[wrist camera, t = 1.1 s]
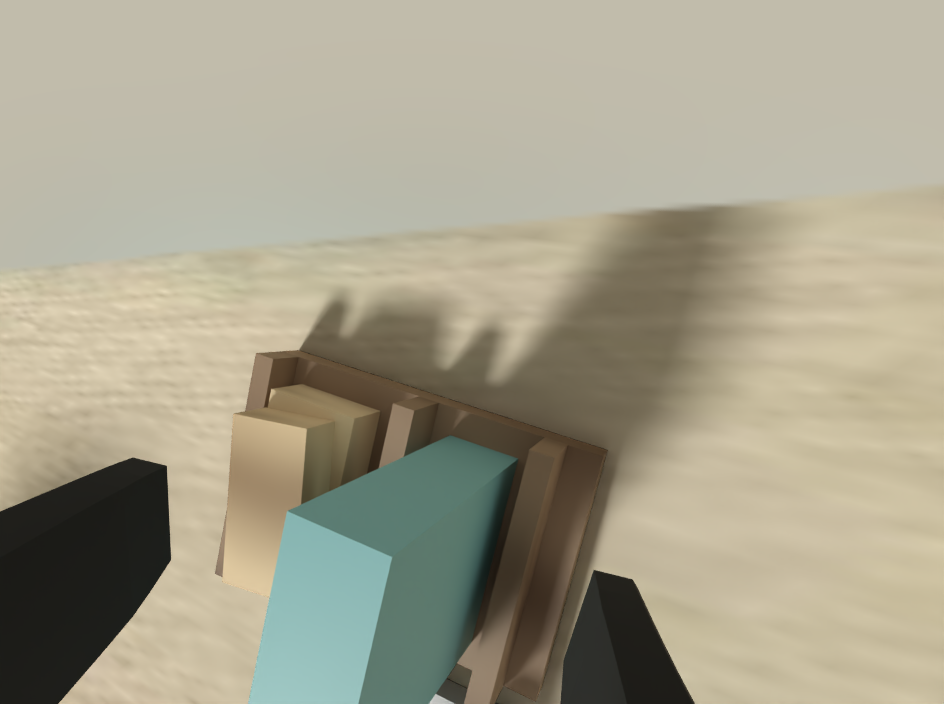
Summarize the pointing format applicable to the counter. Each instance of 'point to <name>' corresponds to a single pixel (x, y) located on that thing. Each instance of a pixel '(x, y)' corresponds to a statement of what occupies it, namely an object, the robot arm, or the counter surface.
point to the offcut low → (349, 431)
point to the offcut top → (270, 487)
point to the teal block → (383, 580)
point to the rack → (525, 519)
